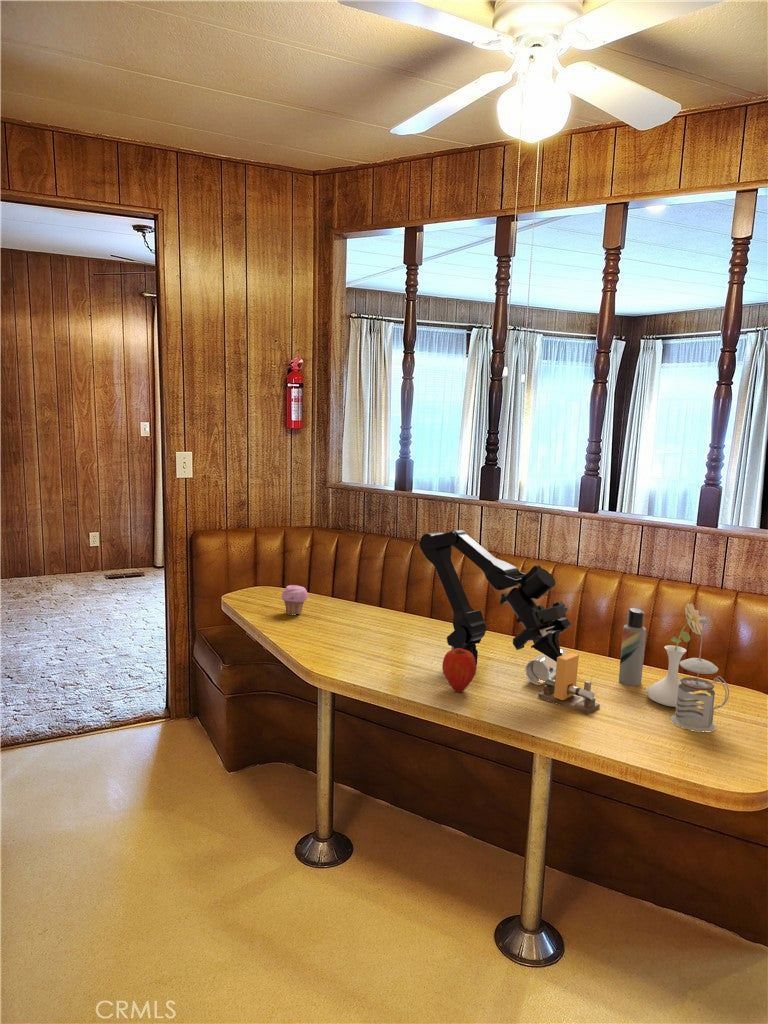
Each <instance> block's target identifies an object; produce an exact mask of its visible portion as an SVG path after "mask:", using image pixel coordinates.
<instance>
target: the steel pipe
mask: <svg viewBox="0 0 768 1024" xmlns="http://www.w3.org/2000/svg"><path fill="white" fill-rule="evenodd" d="M546 685H548V686H551V687H554V688H555V679H550V678H547V679H546V683H545V686H546ZM567 692H569V693H572V694H575V695H574V696H577V697H580V698H583V697H584V698H587V699H589V700H593V699H594V698H595V693H594V692H592V691H591V692H590V691H587V690H584V688H581V687H577V686H576V687H574V686H571V685H568V686H567Z"/></svg>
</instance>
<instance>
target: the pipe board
mask: <svg viewBox="0 0 768 1024" xmlns="http://www.w3.org/2000/svg"><path fill="white" fill-rule="evenodd" d="M583 689H584V690H587V691H590V692H592V691H591V690H592V681H590V680H585V681H584V684H583ZM554 690H555V688H554V687H551V686H548V685H546V684H545V685H544V686H543V691H541V692H539V693H538V694H537V698H539V697H540V699H541V698H543V699H542V700H544V699H546V700H545V701H547V700H549V701H548V702H550V701H551V702H550V703H553V702H554V703H553V704H556V703H557V704H556V705H558V704H560V705H559V706H561V705H562V706H561V707H564V706H565V707H564V708H567V707H568V708H567V709H570V708H571V709H570V710H572V711H575V710H576V712H578V711H579V712H578V713H581V714H583V715H584V714H585V715H590V714H591V713H593V712H595V711H597V710H598V709H600V707H601V705H600V703H598V702H596V698H595V697H594V699H593V700H589V699H587V698H584V697H581V696H577V695H573V696H571V697H569V698H567V699H564V700H560V699H558V698H555V697H554Z"/></svg>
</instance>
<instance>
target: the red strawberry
mask: <svg viewBox="0 0 768 1024" xmlns="http://www.w3.org/2000/svg"><path fill="white" fill-rule="evenodd" d="M441 667H442V673H443V675H444V678H445V680H446V681H447V683H448V684H449V686H450V687H451V689H452V690H453V691H454V692H457V693H462V692H464V691H465V689H467V687H468V686H469V684H471V682H472V681H473V679H474V677H475V675H476V671H477V668H476V667H477V665H476V662H475V658H474V656H473V654H472V653H471V652H470V651H468V650H465V649H462V648H455V649H452V650H451V649H450V650H449V651H447V652H446V653H445V655H444V657H443V659H442V666H441Z"/></svg>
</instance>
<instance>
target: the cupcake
mask: <svg viewBox="0 0 768 1024" xmlns="http://www.w3.org/2000/svg"><path fill="white" fill-rule="evenodd" d="M308 596H309V595H308V591H307V589H306V587H304V586H300V585H297V584H296V585H295V584H290V585H287V586H286V587H285V589H283V591H282V594H281V599H282V601H283V603H284V606H285V614H286V615H287V614H288V616H295V615H294V614H299V615H300V614H302V612H303V607H304V603H305V601H307V599H308ZM292 614H293V615H292Z"/></svg>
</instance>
